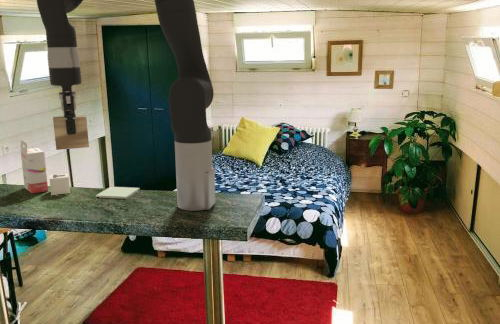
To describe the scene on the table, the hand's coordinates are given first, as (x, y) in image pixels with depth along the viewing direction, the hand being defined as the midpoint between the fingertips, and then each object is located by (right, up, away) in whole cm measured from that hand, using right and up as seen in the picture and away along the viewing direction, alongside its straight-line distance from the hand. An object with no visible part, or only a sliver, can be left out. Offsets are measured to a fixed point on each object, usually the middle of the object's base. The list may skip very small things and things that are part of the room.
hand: (71, 132), depth 127 cm
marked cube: (-8, -17, +13) cm, 22 cm away
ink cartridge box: (-16, -16, +16) cm, 28 cm away
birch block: (0, -4, +1) cm, 4 cm away
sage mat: (+9, -17, +11) cm, 22 cm away
